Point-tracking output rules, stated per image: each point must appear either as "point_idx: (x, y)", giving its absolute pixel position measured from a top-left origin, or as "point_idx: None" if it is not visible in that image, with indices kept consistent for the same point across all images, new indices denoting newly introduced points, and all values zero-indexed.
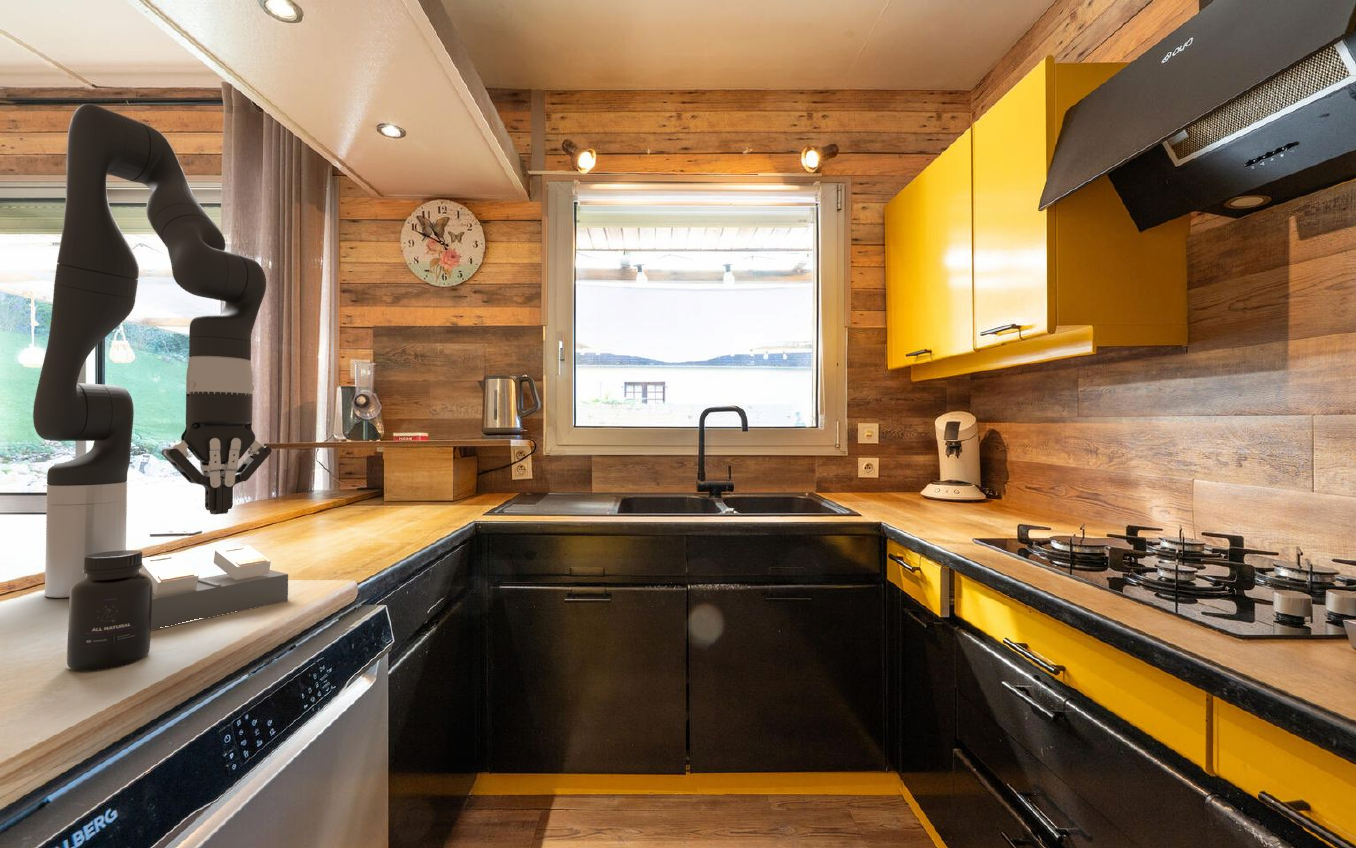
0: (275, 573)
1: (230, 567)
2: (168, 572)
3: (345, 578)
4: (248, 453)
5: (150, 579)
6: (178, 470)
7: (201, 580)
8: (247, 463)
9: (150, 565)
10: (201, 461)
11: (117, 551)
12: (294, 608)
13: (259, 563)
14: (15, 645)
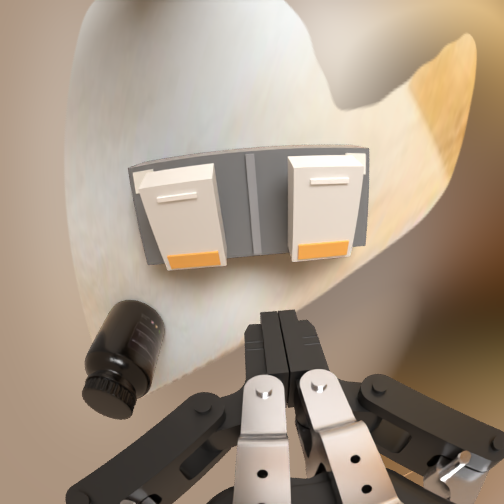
0: (358, 222)
1: (290, 234)
2: (183, 247)
3: (450, 166)
4: (435, 473)
5: (147, 389)
6: (141, 442)
7: (250, 193)
8: (402, 451)
9: (157, 218)
10: (228, 490)
11: (105, 396)
12: (331, 276)
13: (331, 257)
14: (67, 188)
